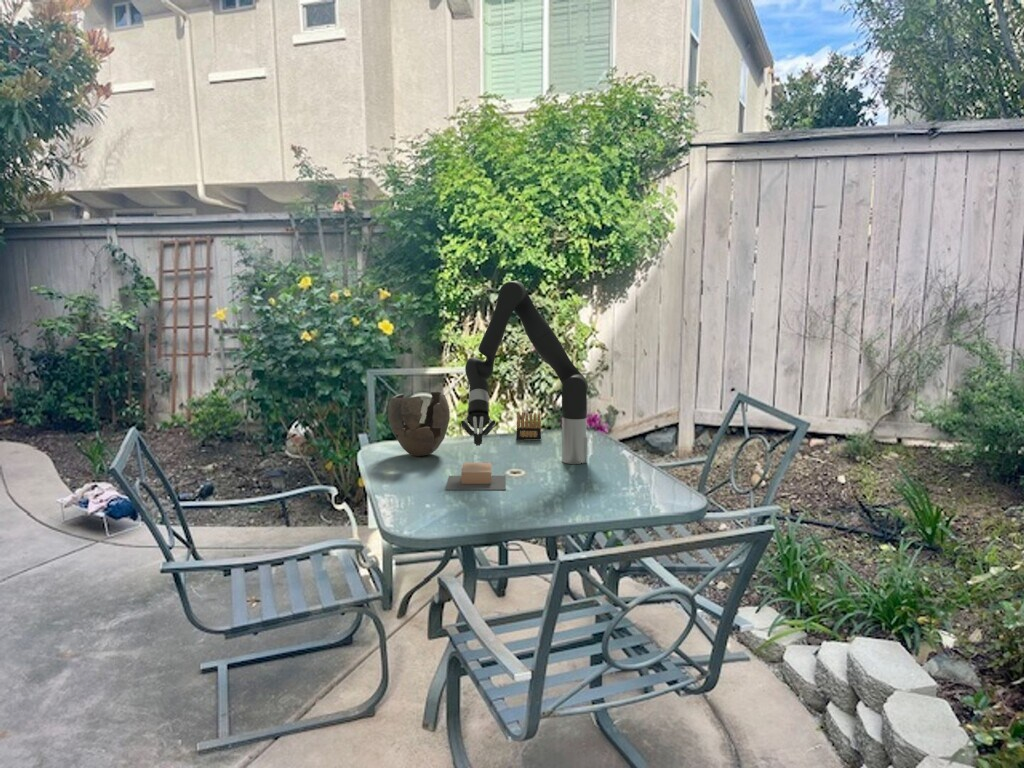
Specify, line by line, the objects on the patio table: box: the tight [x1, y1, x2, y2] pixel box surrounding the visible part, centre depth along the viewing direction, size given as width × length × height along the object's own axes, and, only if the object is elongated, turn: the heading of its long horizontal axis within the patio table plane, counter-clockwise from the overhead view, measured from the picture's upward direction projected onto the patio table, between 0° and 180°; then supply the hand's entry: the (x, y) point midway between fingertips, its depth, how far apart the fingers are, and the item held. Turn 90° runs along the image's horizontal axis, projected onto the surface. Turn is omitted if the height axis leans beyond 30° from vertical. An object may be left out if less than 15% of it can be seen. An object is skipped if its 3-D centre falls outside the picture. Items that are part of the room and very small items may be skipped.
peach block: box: [460, 462, 493, 484], centre depth 245 cm, size 10×4×12 cm
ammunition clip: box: [515, 411, 542, 441], centre depth 304 cm, size 11×2×12 cm, turn 87°
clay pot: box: [387, 391, 451, 457], centre depth 277 cm, size 24×24×25 cm
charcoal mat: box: [444, 475, 507, 491], centre depth 242 cm, size 20×16×1 cm
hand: (478, 444), depth 250 cm, fingers closed
